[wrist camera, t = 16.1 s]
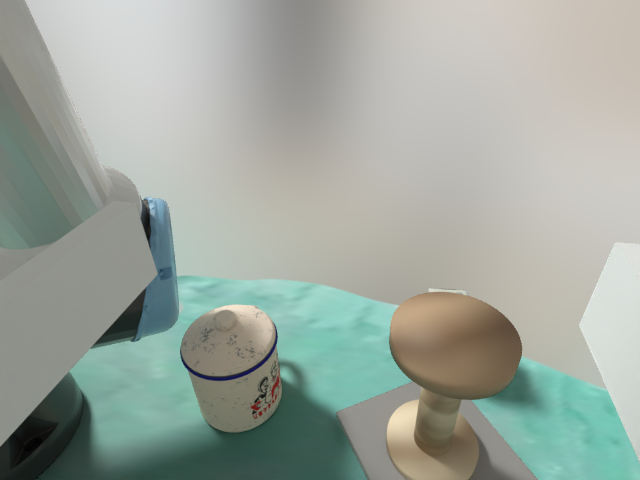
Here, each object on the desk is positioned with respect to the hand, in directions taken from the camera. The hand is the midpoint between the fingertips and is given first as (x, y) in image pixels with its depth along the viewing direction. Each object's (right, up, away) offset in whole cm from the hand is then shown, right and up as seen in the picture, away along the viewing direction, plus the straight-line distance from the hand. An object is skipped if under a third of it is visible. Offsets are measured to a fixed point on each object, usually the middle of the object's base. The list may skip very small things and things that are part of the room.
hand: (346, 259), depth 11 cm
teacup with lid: (-9, -15, +32) cm, 37 cm away
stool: (+9, -18, +25) cm, 32 cm away
